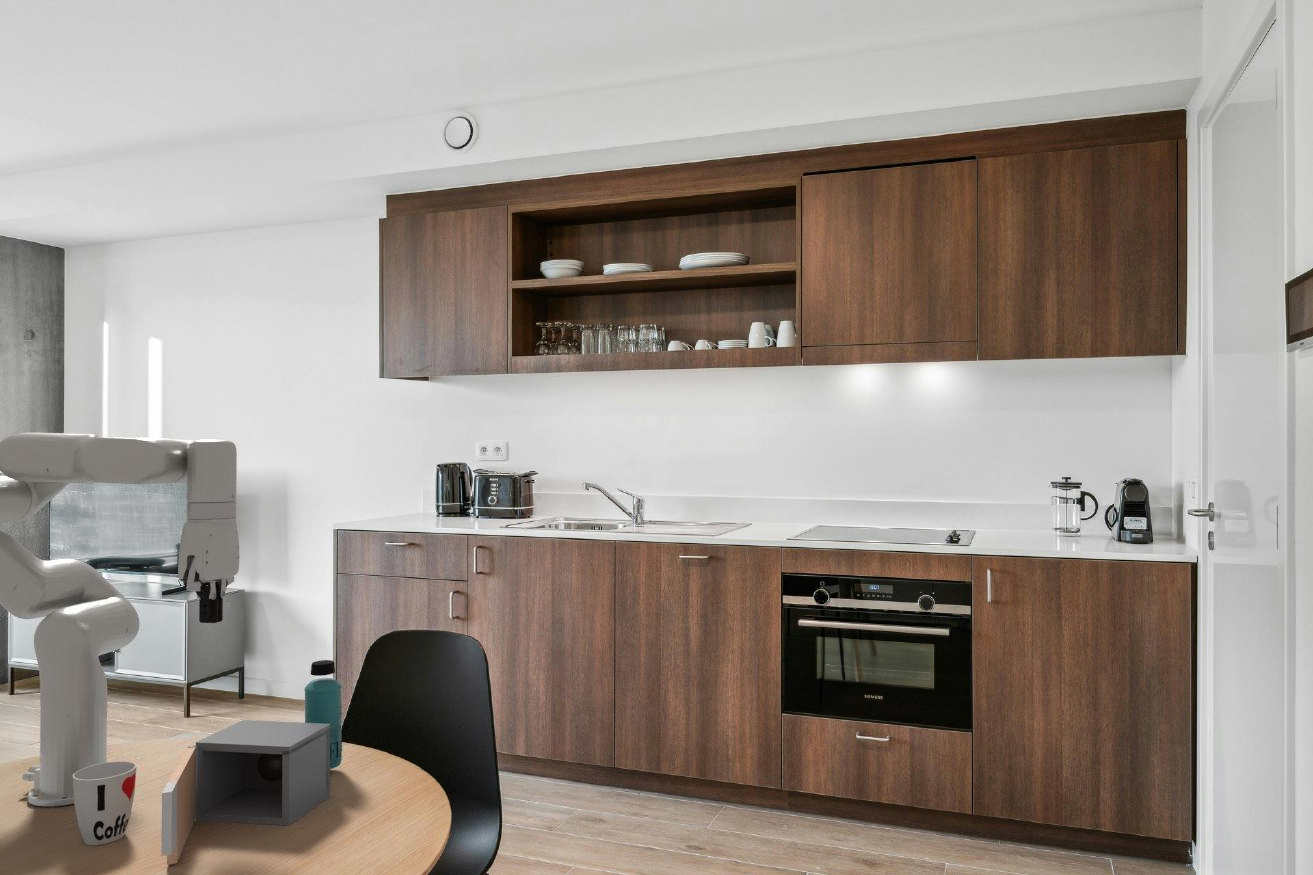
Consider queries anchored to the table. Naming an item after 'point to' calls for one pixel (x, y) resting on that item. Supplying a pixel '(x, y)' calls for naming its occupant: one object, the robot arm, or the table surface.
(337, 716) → the beverage bottle
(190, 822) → the door
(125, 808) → the cup
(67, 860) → the table surface
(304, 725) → the grey smooth box
